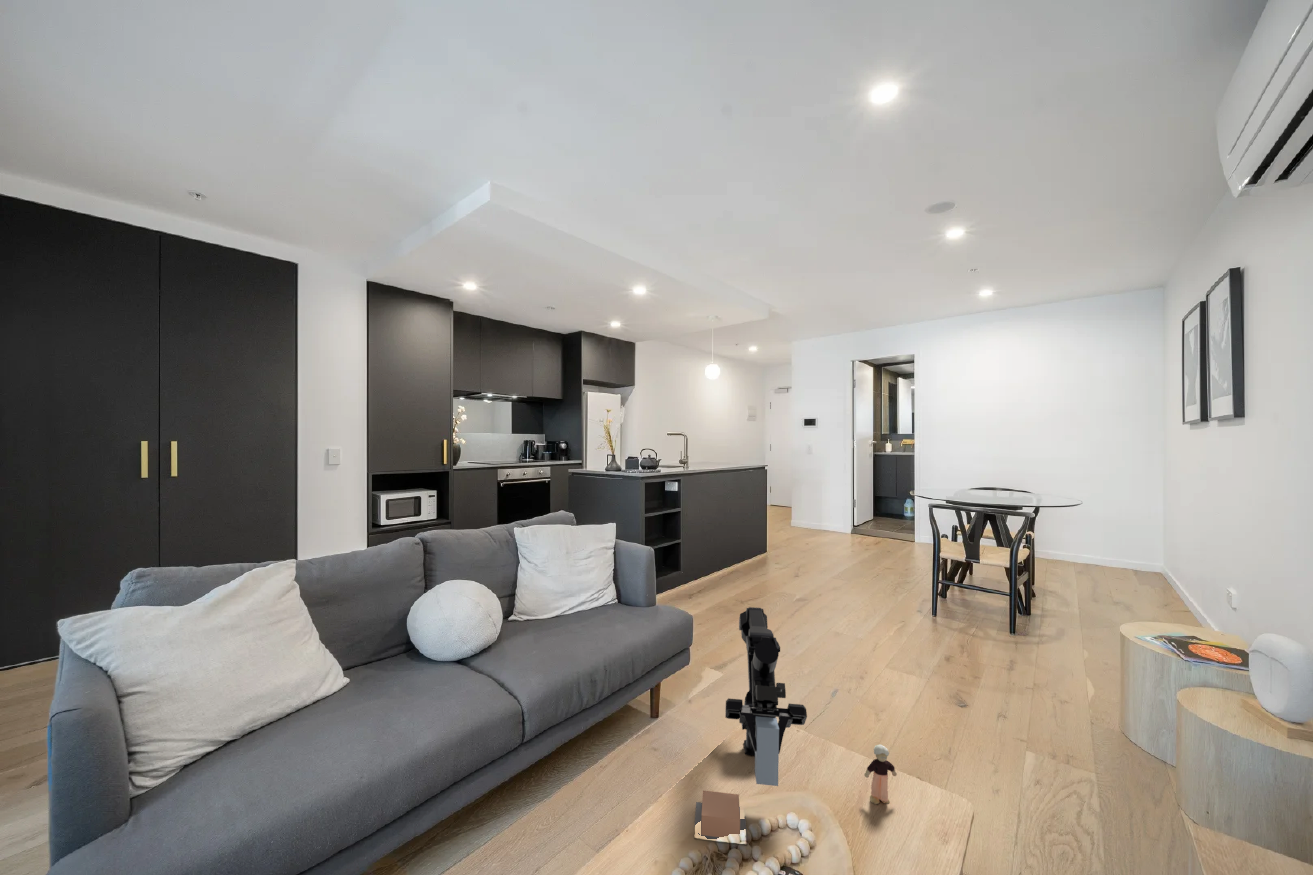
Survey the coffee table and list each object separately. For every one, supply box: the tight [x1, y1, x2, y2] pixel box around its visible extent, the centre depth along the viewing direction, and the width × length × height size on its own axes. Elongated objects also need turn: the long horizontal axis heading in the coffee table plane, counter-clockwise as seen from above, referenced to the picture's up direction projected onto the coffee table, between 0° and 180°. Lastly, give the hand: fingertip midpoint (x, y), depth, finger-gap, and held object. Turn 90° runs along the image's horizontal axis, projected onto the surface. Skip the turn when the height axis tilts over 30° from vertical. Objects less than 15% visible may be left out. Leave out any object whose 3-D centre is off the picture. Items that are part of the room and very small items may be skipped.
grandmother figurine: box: [863, 744, 898, 805], centre depth 119 cm, size 8×4×13 cm, turn 105°
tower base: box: [694, 790, 747, 839], centre depth 109 cm, size 10×11×5 cm
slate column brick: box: [754, 716, 780, 787], centre depth 115 cm, size 5×5×12 cm
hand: (767, 752), depth 114 cm, fingers closed on slate column brick, 5 cm apart
